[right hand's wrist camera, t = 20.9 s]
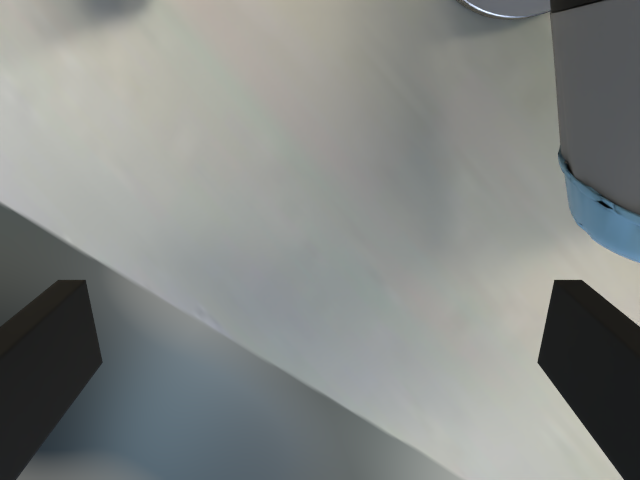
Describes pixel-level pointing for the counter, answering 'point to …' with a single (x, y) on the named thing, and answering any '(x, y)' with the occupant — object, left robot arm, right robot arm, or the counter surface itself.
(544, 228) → the counter surface
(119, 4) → the counter surface
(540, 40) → the counter surface
